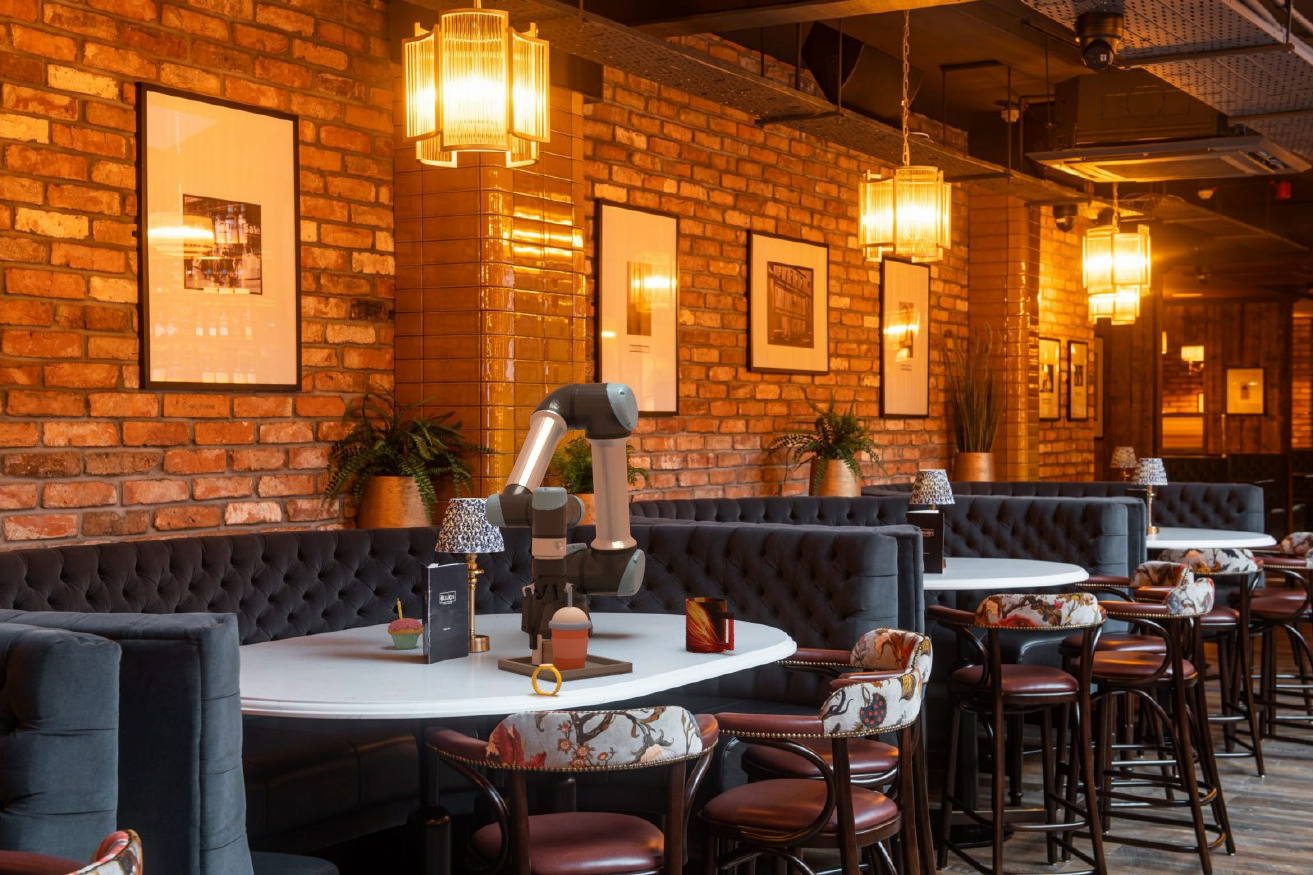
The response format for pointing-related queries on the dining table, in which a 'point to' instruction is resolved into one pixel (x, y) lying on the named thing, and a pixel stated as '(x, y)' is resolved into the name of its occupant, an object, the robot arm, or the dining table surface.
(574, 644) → the cup with straw
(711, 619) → the mug
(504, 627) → the dining table surface
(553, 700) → the dining table surface
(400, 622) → the cupcake
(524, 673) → the tray
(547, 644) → the walnut block
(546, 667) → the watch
